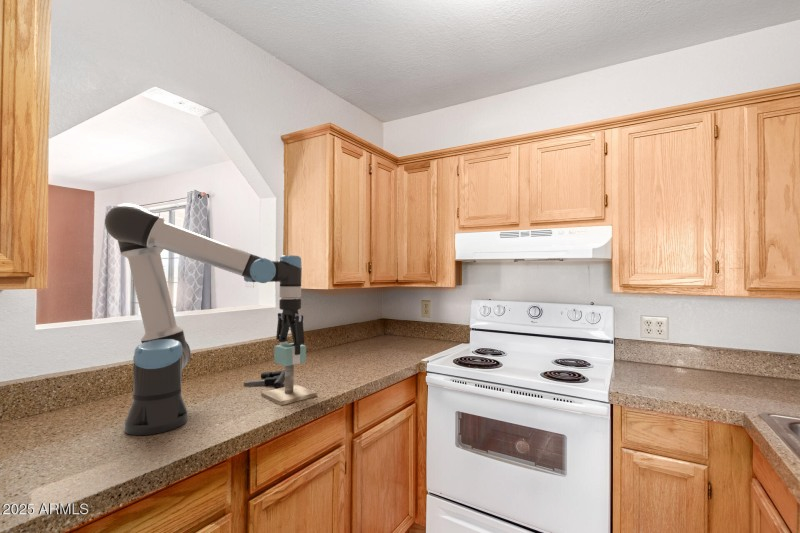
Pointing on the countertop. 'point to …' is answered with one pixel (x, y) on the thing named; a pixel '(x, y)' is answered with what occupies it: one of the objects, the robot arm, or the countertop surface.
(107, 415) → the countertop surface
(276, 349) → the collar
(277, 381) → the black toy gun
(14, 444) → the countertop surface
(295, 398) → the peg stand
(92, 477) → the countertop surface
